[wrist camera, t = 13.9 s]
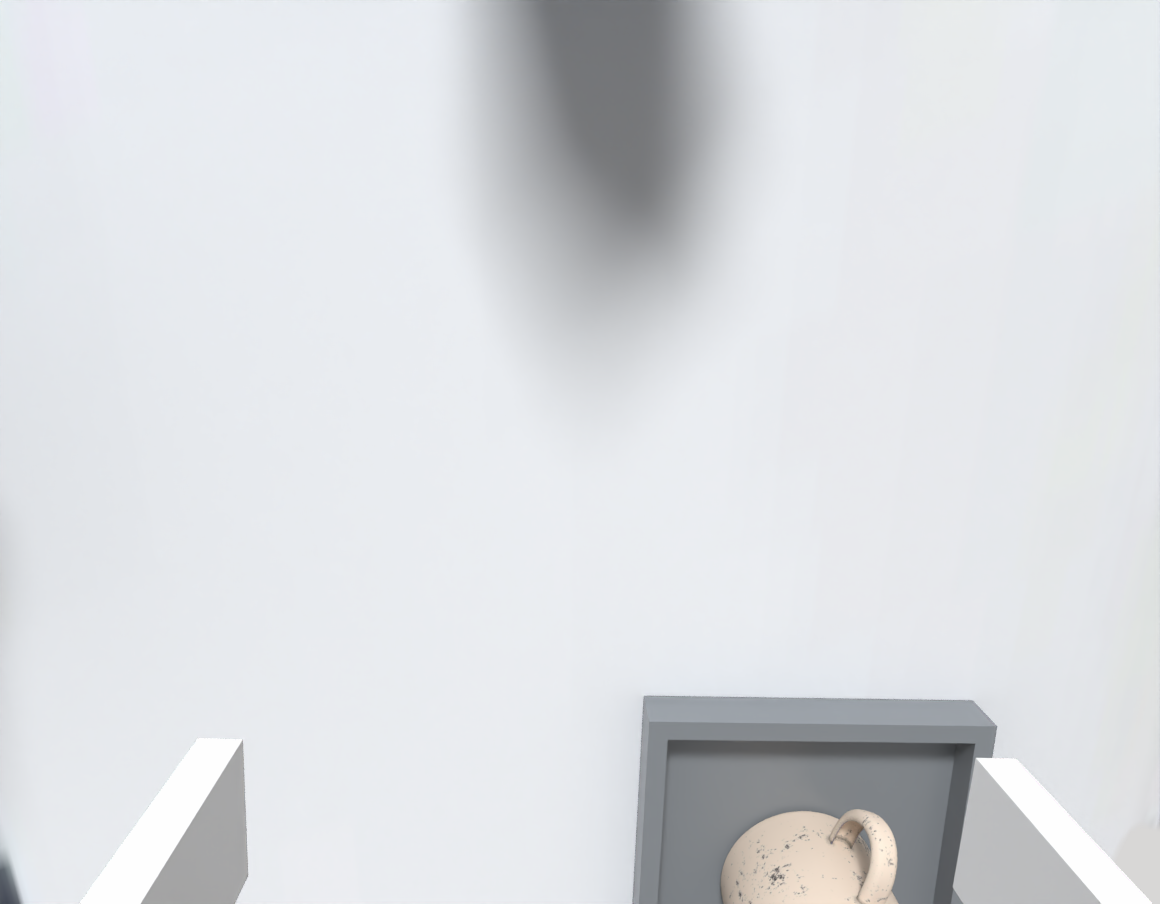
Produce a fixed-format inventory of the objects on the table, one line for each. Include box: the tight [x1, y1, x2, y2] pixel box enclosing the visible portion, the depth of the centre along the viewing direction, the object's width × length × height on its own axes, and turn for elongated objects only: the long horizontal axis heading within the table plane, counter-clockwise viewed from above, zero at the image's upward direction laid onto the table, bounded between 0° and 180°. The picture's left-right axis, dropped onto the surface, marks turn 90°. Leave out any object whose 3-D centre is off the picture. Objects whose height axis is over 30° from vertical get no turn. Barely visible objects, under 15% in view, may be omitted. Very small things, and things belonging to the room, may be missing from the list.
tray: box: [632, 696, 997, 904], centre depth 46 cm, size 18×18×3 cm
